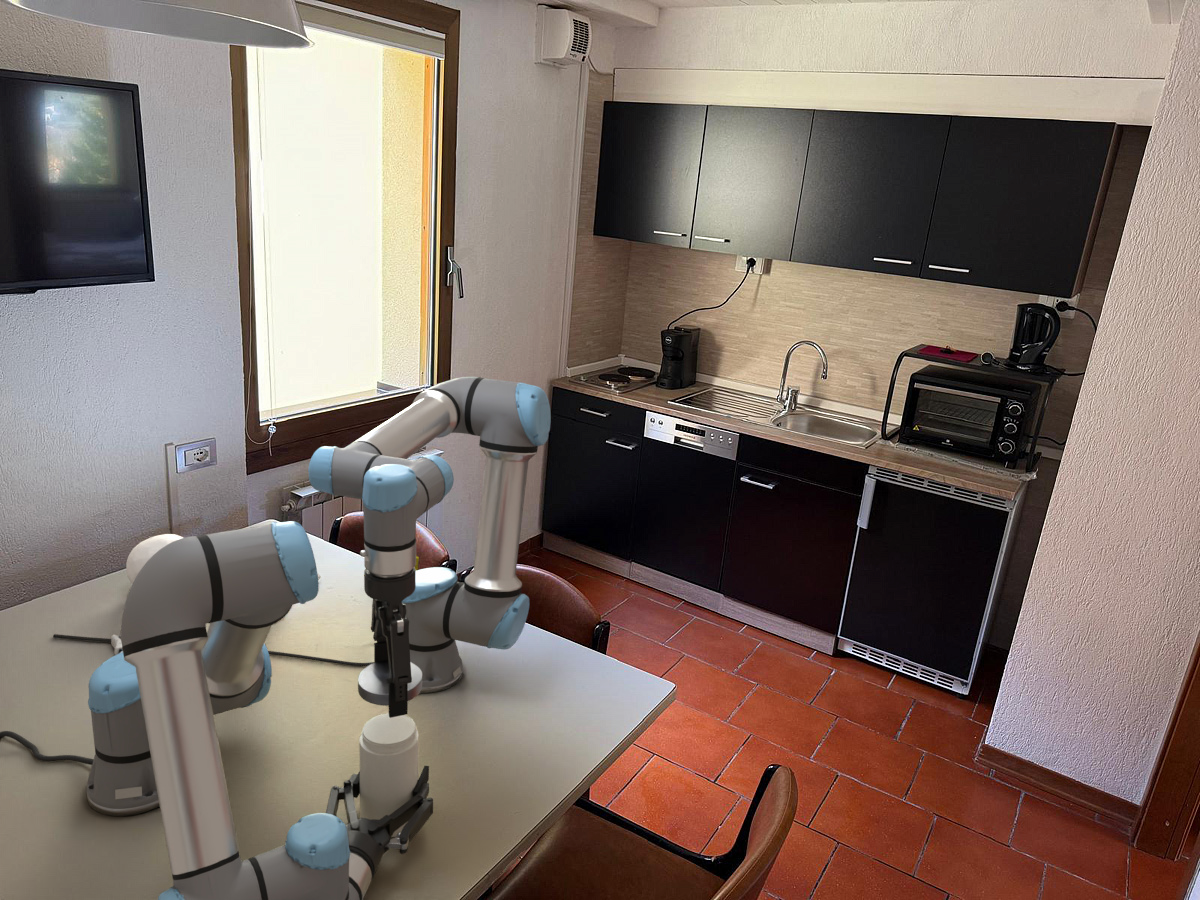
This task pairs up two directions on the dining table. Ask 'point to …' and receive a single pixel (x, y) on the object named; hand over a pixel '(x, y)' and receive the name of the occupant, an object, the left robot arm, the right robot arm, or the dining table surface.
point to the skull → (146, 553)
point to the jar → (387, 765)
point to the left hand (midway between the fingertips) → (397, 768)
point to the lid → (384, 683)
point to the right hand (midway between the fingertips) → (390, 695)
